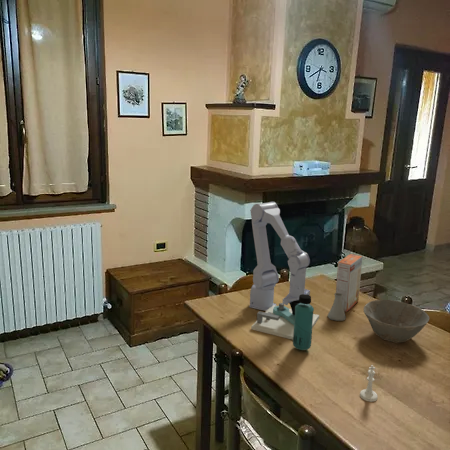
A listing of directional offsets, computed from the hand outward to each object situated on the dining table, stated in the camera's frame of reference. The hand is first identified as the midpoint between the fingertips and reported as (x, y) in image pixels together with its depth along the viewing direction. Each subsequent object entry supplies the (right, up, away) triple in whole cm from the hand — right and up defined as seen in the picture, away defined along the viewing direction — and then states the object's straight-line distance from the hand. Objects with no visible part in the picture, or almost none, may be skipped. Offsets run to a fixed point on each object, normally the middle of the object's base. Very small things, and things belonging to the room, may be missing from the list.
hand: (295, 316), depth 172 cm
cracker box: (+25, +1, +17) cm, 30 cm away
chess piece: (+14, -14, -44) cm, 48 cm away
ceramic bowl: (+34, -6, -9) cm, 36 cm away
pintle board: (-4, -2, -1) cm, 4 cm away
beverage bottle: (-1, -8, -19) cm, 21 cm away
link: (-2, -1, 0) cm, 3 cm away
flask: (+17, -2, +6) cm, 18 cm away
